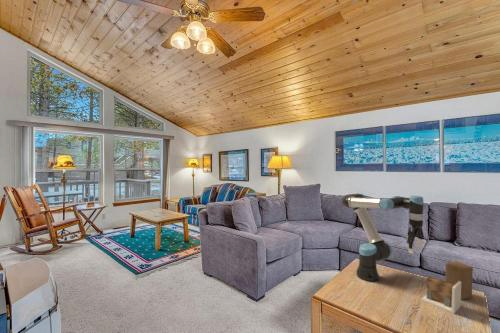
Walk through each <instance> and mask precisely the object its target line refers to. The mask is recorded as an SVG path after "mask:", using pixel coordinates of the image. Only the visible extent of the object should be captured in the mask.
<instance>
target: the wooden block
mask: <svg viewBox="0 0 500 333" xmlns="http://www.w3.org/2000/svg"><path fill="white" fill-rule="evenodd" d="M473 270H474V269H473V267H472V266H471V265H467V264H465V263H462V262H460V261H457V260H455V261H450V262H446V263H445V280H444V281H445V282H448V283H451V284H454V285H455V284H456V283H457V282H458V281H460V282H461V301H463V300H466V299H470V298H472V297H473V273H474V272H473Z"/></svg>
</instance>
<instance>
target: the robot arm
mask: <svg viewBox="0 0 500 333" xmlns="http://www.w3.org/2000/svg"><path fill="white" fill-rule="evenodd" d="M341 204H342V206H343V207H344V208H346V209H352V211H353V212H355V213H356V214H357V217H358V218H359V220H360V223H361V225H362V227H363V231H364V232H365V234H366V237H367V239H368V241H369V242H368V243H367V242H366V243H362V244H360V245H359V247H358V248H359V249H358V257H359V258H358V267H357V270H356V276H357V278H359V279H360V280H362V281H363V280H364V281H367V282H377V281H379V280H380V274H379V271H378V268H377V263H378V262H381V261H385V260H388V259H390V258H391V257H392V255H393V249H392V247H391V245H390V244H388V243H387V242H386V241H385V240H384V239H383V238H381V236H380V234H379V232H378V229H377V228H376V226H375V223H374V221H373V219H372V217H371V215H370V212H369V210H368V209H378V210H379V209H380V210H384V211H391V210H395V209H406V210H409V216H408V217H409V219H408V223H409V225H410V226H411V227H409V229H408V231H409V232H408V236H407V239H406V243H407V244H408V254H415V253H414V247H415V245H414V241H415V238H416V236H417V238H416V240H417V241H416V248H417V249H420V250H422V249H423V240H425V236H424V231H423V226H424V217H425V215H424V205H425V203H424V197H423V196H421V195H420V196H419V195H410V196H409V197H404V196H400V195H399V196H398V195H395V196H393V197H379V198H378V197H367V196H366V195H365V194H363V193H352V194H345V195H344V196H342V198H341Z"/></svg>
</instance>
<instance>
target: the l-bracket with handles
mask: <svg viewBox="0 0 500 333" xmlns="http://www.w3.org/2000/svg"><path fill="white" fill-rule="evenodd" d="M420 300H421V301H422V302H425V303H427V304H429V305H431V306H433V307H436V308H438V309H440V310H443V311H446V312H447V313H451V314H453V315H454V314H456V313H457V311H459V309H460V308H461V306H462V300H461V282H460V281H458V282H457V283H456V284H455V285H454V286H453V287H452V306H451V307H450V299H449V298H446V297H445V300H444V304H443V303H441V302H438V301H436V300H433V299H432V292H431V291H428V290H427V289H426V294H425V295H424V296H423V297H421V299H420Z"/></svg>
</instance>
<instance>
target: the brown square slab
mask: <svg viewBox="0 0 500 333" xmlns="http://www.w3.org/2000/svg"><path fill="white" fill-rule="evenodd" d="M453 286H454V284H451V283H448V282H445V280H441V279H440V278H439V279H438V278H437V277H436V278H435V277H434V276H430V275H429V276H428V277H427V278H426V291H427V290H428V291H431V292H432V299H433V300H436V301H438V302H441V303H443V304H444V300H445V297H446V298H449V299H450V307H451V306H452V287H453Z"/></svg>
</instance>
